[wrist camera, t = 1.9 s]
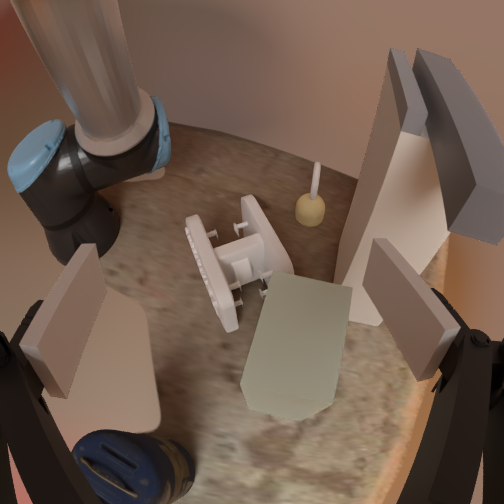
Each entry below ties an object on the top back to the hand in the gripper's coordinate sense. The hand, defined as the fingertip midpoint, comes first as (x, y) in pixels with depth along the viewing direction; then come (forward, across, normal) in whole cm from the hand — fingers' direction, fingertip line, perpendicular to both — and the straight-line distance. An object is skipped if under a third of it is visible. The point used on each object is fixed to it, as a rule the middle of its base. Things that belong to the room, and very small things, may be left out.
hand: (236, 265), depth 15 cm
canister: (+4, -10, -34) cm, 36 cm away
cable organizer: (+28, +2, -21) cm, 35 cm away
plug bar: (+7, +16, +6) cm, 19 cm away
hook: (+39, +15, -15) cm, 44 cm away
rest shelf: (+14, +7, -27) cm, 31 cm away
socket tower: (+26, +21, -20) cm, 39 cm away
